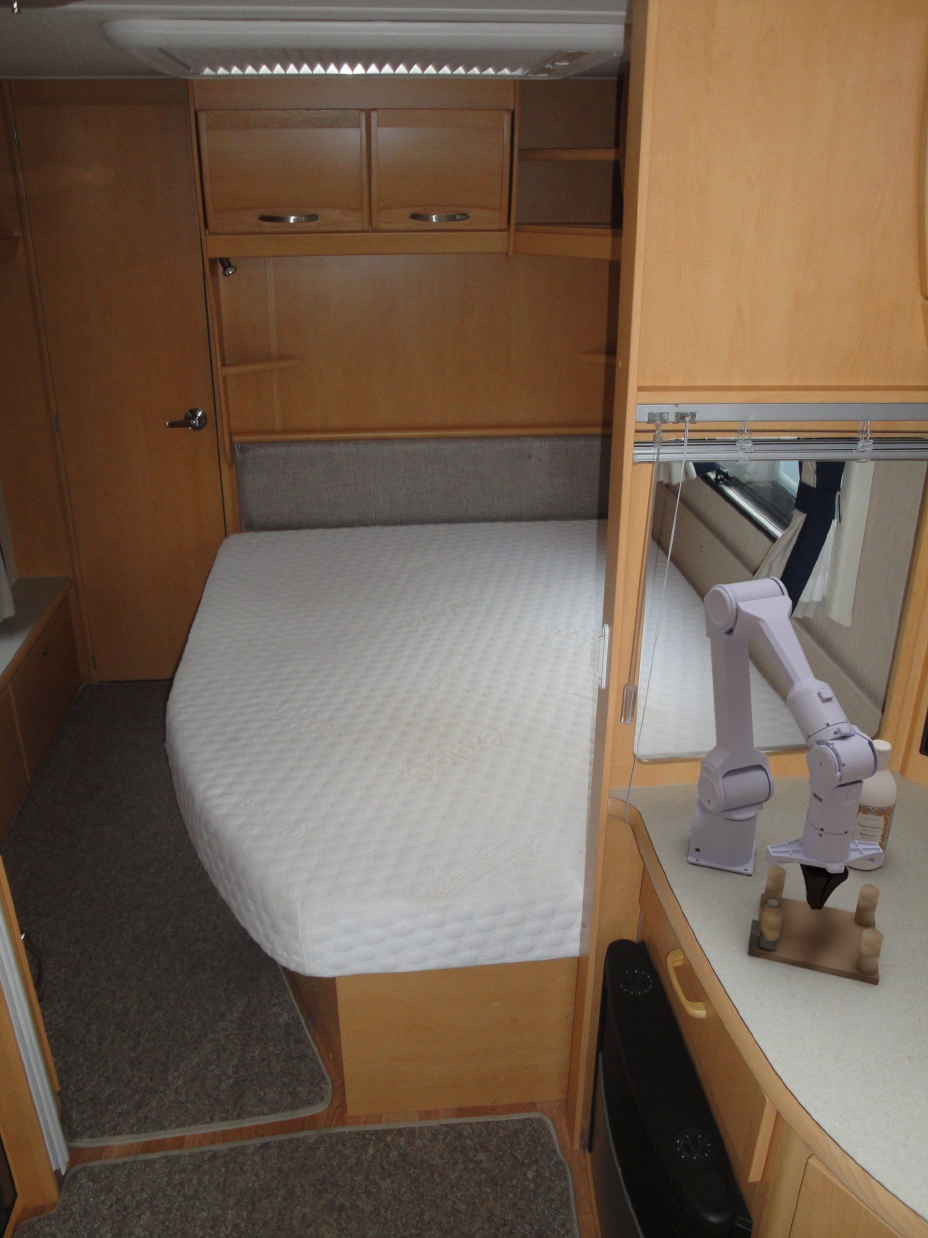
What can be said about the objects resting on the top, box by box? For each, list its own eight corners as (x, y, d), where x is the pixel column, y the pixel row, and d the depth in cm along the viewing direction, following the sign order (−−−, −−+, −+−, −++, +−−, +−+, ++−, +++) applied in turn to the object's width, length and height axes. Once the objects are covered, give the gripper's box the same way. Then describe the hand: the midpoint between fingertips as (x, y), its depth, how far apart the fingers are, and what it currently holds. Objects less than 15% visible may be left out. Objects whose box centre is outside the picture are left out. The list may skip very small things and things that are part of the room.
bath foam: (835, 867, 140) (856, 753, 132) (833, 839, 146) (853, 729, 138) (885, 875, 138) (910, 760, 130) (880, 847, 144) (904, 736, 136)
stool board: (747, 955, 123) (753, 917, 121) (753, 897, 134) (758, 861, 131) (877, 985, 118) (886, 946, 116) (873, 922, 129) (881, 885, 126)
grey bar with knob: (762, 909, 129) (767, 879, 127) (780, 913, 129) (785, 883, 127) (758, 947, 123) (762, 917, 121) (776, 952, 122) (782, 921, 120)
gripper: (785, 842, 114) (770, 928, 119) (901, 838, 114) (881, 924, 120) (765, 808, 120) (752, 890, 126) (875, 804, 121) (857, 887, 126)
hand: (814, 904), depth 123 cm, fingers closed
